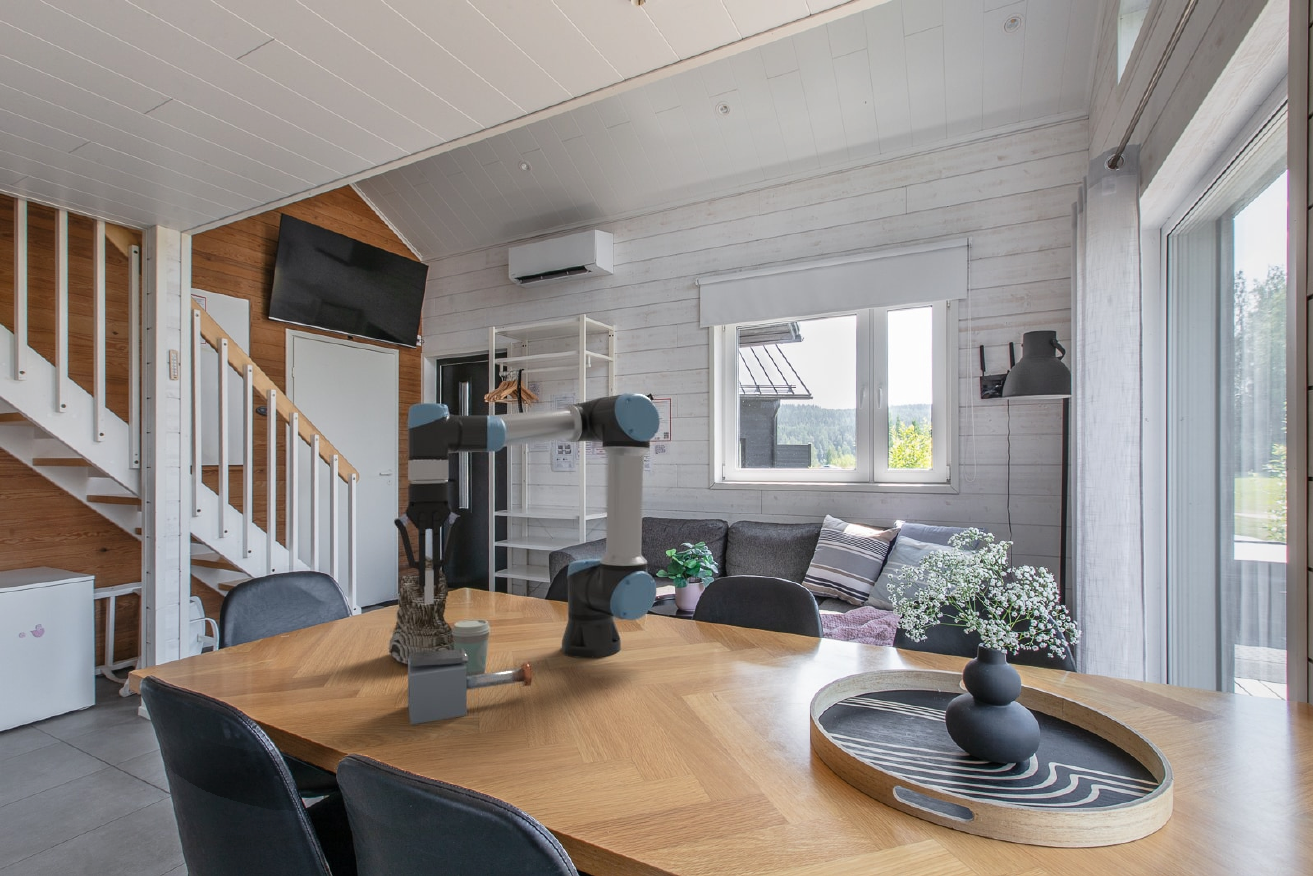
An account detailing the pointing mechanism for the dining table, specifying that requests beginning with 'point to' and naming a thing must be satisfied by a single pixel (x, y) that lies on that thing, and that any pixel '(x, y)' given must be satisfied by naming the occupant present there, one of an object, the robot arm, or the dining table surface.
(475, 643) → the coffee cup
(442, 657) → the keeper plate
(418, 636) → the sculpture
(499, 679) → the lynch pin
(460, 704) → the block
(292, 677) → the dining table surface
